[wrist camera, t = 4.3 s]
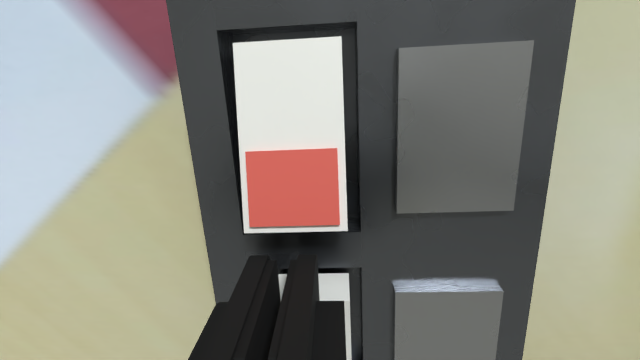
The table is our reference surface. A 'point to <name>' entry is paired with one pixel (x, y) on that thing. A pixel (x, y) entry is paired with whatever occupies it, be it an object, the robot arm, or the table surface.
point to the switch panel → (400, 160)
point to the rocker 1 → (291, 135)
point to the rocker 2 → (332, 297)
